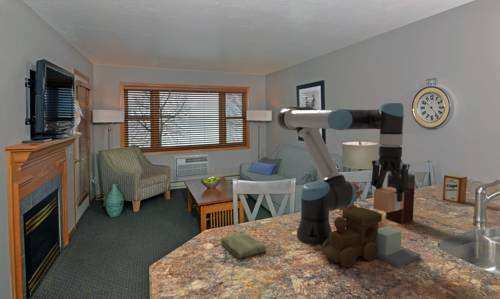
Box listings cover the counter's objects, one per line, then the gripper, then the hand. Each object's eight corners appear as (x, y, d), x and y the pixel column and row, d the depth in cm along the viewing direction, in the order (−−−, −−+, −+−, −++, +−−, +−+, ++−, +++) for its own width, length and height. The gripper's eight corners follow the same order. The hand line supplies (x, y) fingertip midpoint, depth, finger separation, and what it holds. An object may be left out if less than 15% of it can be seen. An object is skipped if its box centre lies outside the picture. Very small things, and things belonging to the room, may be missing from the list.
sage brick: (385, 254, 103) (386, 235, 103) (371, 248, 108) (372, 230, 108) (400, 248, 108) (401, 231, 107) (386, 243, 113) (387, 226, 112)
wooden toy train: (358, 246, 114) (359, 205, 112) (383, 258, 104) (384, 214, 102) (318, 257, 105) (319, 213, 104) (340, 271, 95) (342, 223, 93)
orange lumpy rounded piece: (356, 219, 145) (357, 184, 144) (335, 215, 152) (336, 181, 150) (363, 213, 154) (364, 180, 152) (342, 209, 161) (343, 178, 159)
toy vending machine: (382, 219, 144) (384, 164, 142) (396, 215, 150) (398, 163, 147) (399, 225, 137) (401, 167, 134) (413, 221, 142) (415, 165, 139)
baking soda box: (442, 199, 179) (444, 174, 178) (448, 198, 182) (450, 173, 181) (459, 203, 171) (461, 177, 170) (465, 202, 174) (467, 176, 173)
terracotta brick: (388, 212, 102) (388, 193, 101) (373, 208, 107) (374, 189, 106) (403, 208, 106) (404, 190, 106) (388, 204, 111) (389, 187, 111)
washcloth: (246, 237, 125) (246, 230, 125) (268, 253, 110) (268, 245, 109) (218, 243, 119) (218, 236, 118) (237, 261, 103) (237, 253, 103)
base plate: (398, 267, 97) (398, 263, 97) (355, 247, 113) (355, 243, 113) (419, 258, 104) (420, 253, 104) (376, 240, 119) (376, 236, 119)
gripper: (422, 147, 98) (419, 212, 100) (374, 143, 114) (372, 200, 117) (410, 148, 94) (407, 216, 96) (361, 144, 111) (360, 203, 113)
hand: (388, 207), depth 107 cm, fingers closed on terracotta brick, 6 cm apart
